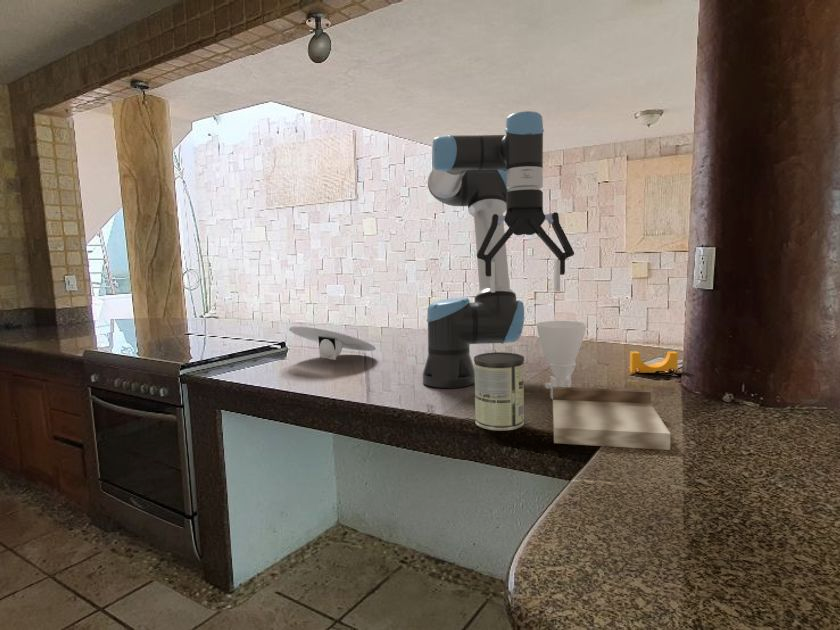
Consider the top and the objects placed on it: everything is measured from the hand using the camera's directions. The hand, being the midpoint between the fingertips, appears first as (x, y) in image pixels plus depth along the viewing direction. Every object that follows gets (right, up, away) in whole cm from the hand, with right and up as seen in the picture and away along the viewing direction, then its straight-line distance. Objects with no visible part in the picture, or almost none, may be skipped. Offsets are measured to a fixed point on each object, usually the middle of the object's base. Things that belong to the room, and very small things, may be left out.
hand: (524, 291), depth 112 cm
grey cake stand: (-60, -16, +58) cm, 85 cm away
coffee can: (-6, -28, -2) cm, 29 cm away
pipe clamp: (+44, -22, +37) cm, 61 cm away
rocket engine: (+12, -25, +15) cm, 32 cm away
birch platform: (+15, -28, -7) cm, 32 cm away
